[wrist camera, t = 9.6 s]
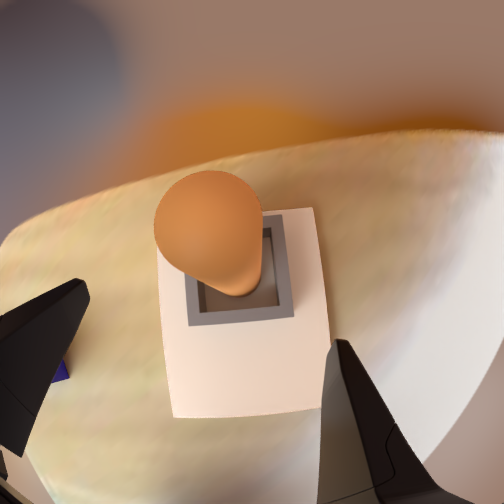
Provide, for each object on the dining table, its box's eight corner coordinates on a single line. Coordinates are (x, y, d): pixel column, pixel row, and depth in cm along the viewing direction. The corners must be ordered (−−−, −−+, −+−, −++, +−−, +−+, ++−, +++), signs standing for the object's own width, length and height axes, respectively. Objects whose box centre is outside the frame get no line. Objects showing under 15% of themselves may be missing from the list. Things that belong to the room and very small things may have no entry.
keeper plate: (331, 401, 19) (343, 415, 16) (177, 413, 19) (163, 429, 16) (310, 211, 22) (318, 194, 19) (160, 227, 22) (145, 213, 19)
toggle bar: (268, 285, 20) (282, 245, 8) (227, 305, 20) (177, 295, 8) (248, 245, 21) (234, 154, 8) (208, 264, 20) (140, 199, 8)
